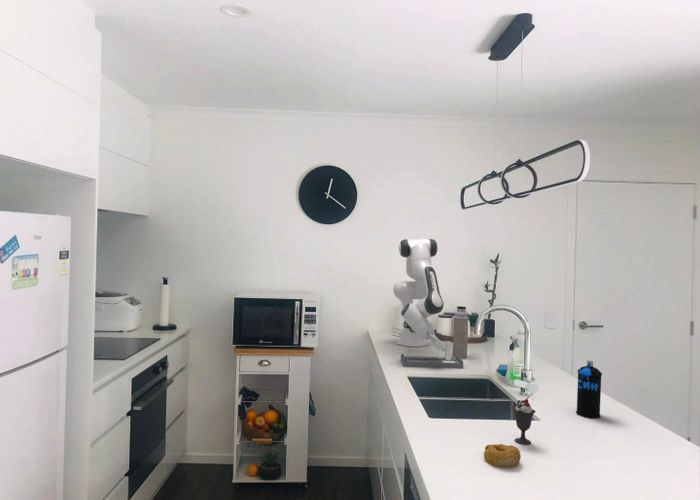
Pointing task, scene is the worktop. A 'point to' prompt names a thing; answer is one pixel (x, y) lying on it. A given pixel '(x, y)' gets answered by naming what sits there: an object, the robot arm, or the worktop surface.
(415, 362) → the console
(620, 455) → the worktop surface
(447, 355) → the fader knob
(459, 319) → the thermos bottle
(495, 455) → the bagel
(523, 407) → the sundae
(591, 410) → the aerosol can
